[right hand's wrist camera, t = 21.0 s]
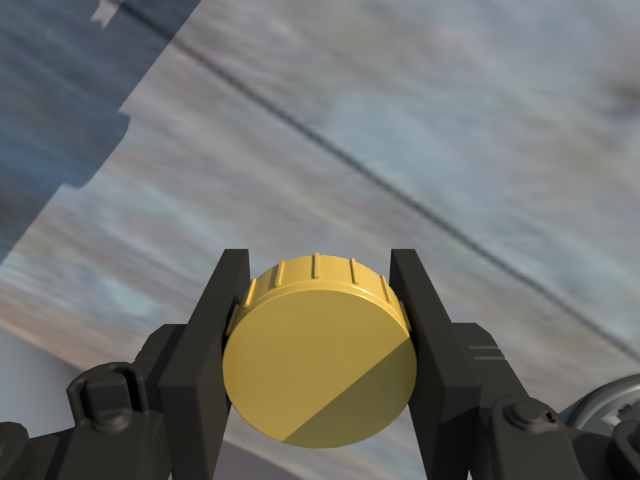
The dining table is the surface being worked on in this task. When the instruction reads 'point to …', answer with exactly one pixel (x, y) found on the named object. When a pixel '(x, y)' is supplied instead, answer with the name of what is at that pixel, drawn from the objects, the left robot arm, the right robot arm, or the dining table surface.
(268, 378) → the lid
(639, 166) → the dining table surface
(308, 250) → the dining table surface
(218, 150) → the dining table surface
